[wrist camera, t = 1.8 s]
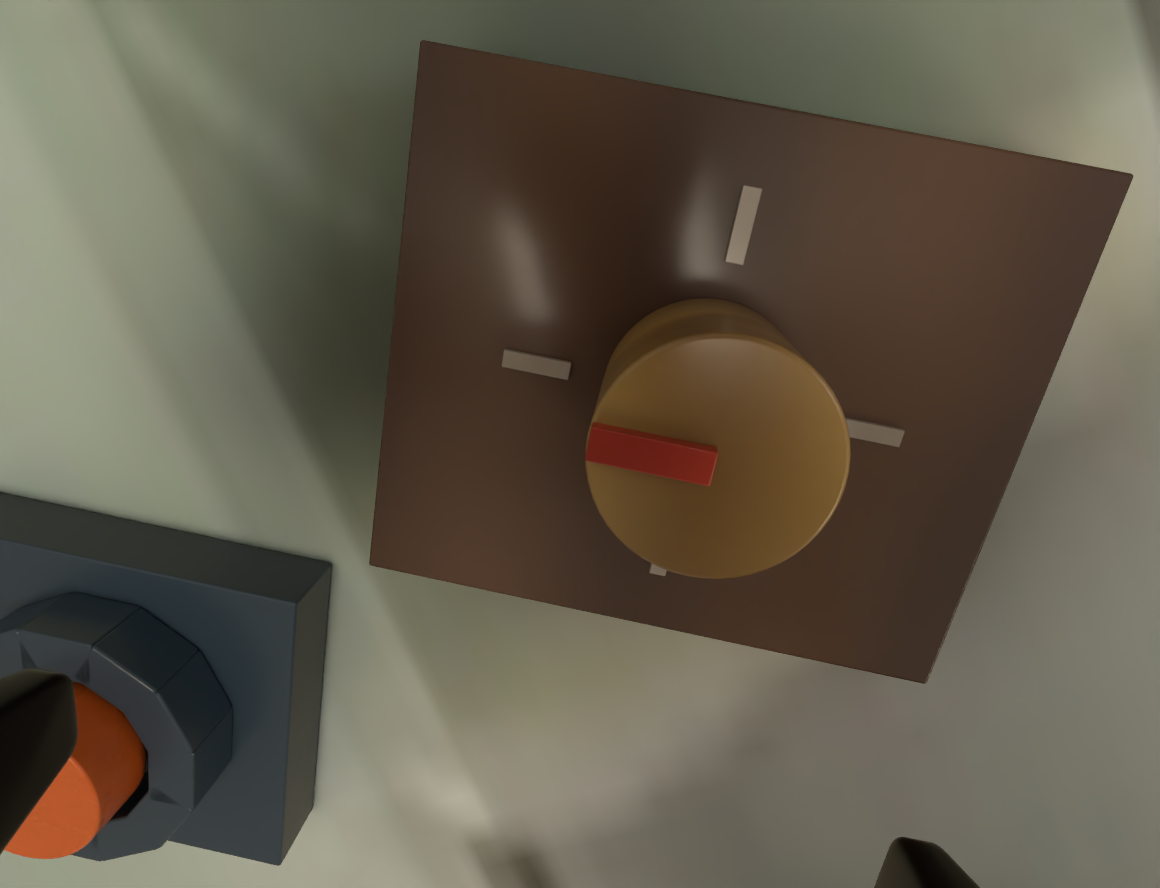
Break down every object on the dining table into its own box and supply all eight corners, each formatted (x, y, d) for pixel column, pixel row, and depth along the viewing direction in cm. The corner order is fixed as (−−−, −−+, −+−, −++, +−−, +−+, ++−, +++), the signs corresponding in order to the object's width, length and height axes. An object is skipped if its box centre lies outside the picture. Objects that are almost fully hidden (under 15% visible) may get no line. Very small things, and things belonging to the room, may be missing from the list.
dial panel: (1048, 178, 16) (1141, 173, 13) (886, 613, 19) (929, 690, 16) (461, 67, 16) (416, 37, 13) (409, 513, 20) (365, 569, 17)
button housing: (333, 562, 20) (259, 644, 17) (313, 808, 23) (247, 925, 20) (-8, 490, 21) (-154, 554, 17) (16, 741, 24) (-106, 843, 20)
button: (146, 695, 18) (95, 745, 16) (148, 818, 19) (101, 876, 18) (-9, 660, 18) (-75, 707, 16) (4, 785, 19) (-56, 840, 18)
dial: (826, 319, 14) (895, 367, 10) (771, 505, 15) (813, 614, 11) (623, 279, 14) (610, 310, 10) (586, 467, 16) (561, 561, 12)
